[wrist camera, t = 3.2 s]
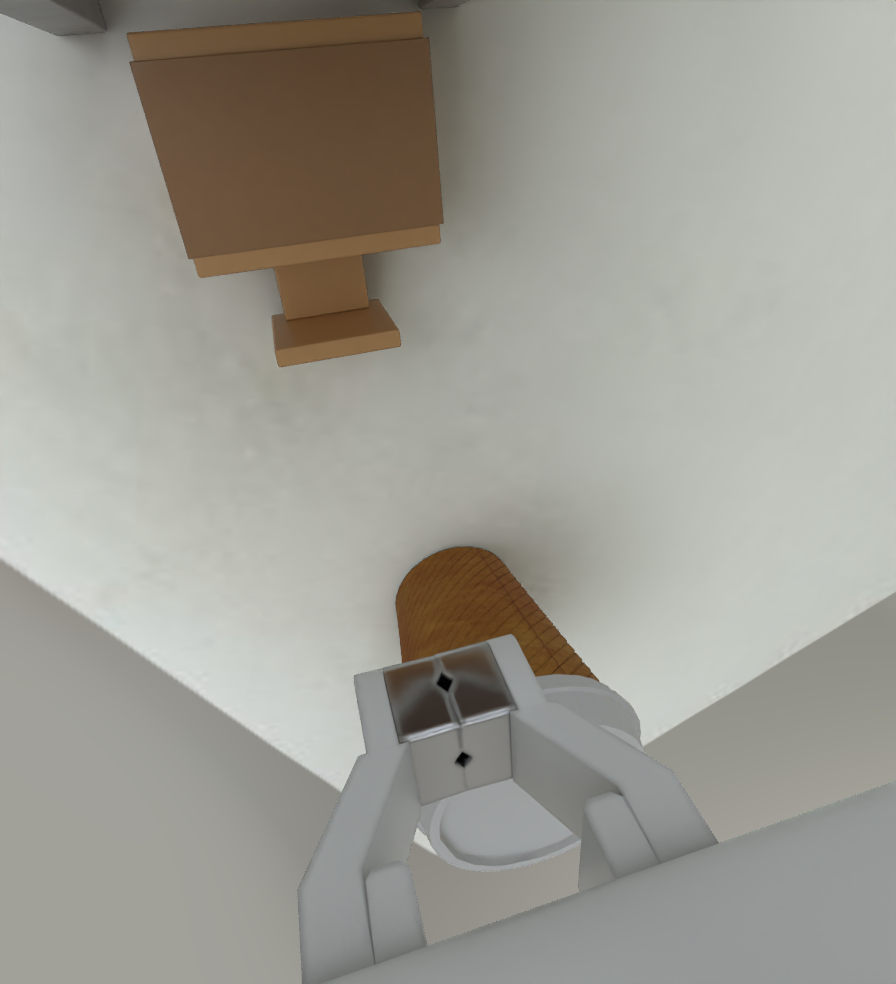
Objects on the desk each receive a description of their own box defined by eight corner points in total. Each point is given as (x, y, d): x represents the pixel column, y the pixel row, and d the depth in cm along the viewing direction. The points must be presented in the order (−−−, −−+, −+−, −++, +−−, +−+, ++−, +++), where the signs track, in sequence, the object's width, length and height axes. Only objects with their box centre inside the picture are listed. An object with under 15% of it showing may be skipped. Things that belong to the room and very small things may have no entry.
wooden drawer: (150, 50, 18) (120, 32, 14) (388, 31, 19) (426, 10, 15) (231, 334, 23) (226, 384, 19) (418, 304, 24) (453, 344, 20)
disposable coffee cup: (448, 681, 36) (522, 896, 26) (325, 612, 31) (359, 847, 21) (569, 577, 34) (698, 765, 24) (460, 485, 29) (568, 676, 19)
